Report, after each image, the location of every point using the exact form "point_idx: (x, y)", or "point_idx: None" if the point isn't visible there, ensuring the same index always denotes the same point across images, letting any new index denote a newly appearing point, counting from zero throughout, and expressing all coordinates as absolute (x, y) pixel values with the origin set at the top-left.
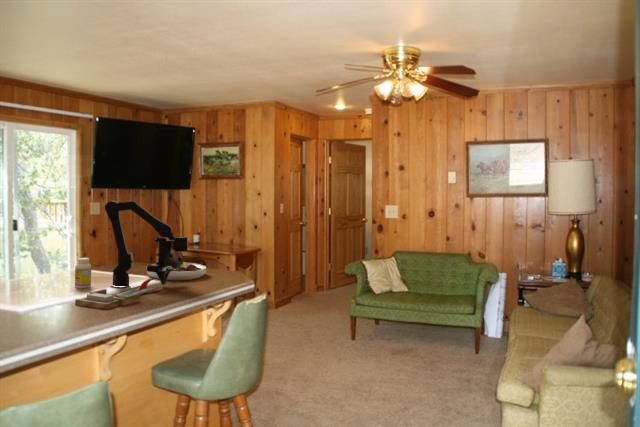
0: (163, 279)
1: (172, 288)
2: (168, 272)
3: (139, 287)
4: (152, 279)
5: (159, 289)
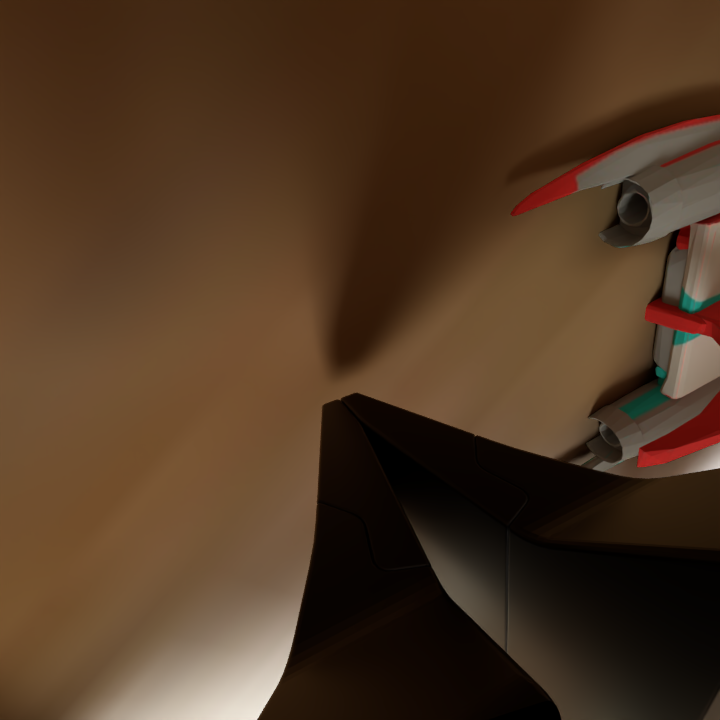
0: (447, 437)
1: (330, 123)
2: (454, 611)
3: (691, 388)
4: (684, 435)
5: (653, 139)
